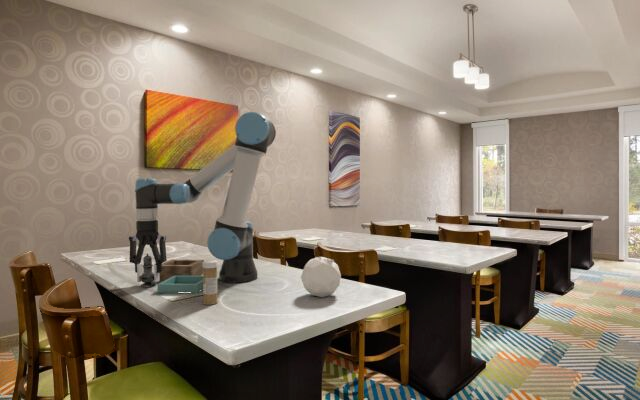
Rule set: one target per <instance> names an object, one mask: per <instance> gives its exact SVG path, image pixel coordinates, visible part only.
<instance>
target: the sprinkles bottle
mask: <svg viewBox="0 0 640 400" xmlns="http://www.w3.org/2000/svg"><path fill="white" fill-rule="evenodd" d="M202 276H203V290H202V294H203V297H202V298H203V301H202V303H203V305H206V306H207V305H215V304H217V303H218V302H219V301H218V260H215V259H207V260H204V261H203V275H202Z"/></svg>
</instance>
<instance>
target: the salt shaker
mask: <svg viewBox="0 0 640 400" xmlns="http://www.w3.org/2000/svg"><path fill="white" fill-rule="evenodd" d="M142 258H143V274H142V275H141V276H139V277H140V279H141V282H142V283H141V284H140V287H142V288H145V287H146V288H149V287H154V286H156V285H157V283H156V282H154V271H153V267H154V264H153V263H152V262H153V261H152V260H153V257H152V256H151V255H149V253H146V255H145V256H144V257H142Z"/></svg>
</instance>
